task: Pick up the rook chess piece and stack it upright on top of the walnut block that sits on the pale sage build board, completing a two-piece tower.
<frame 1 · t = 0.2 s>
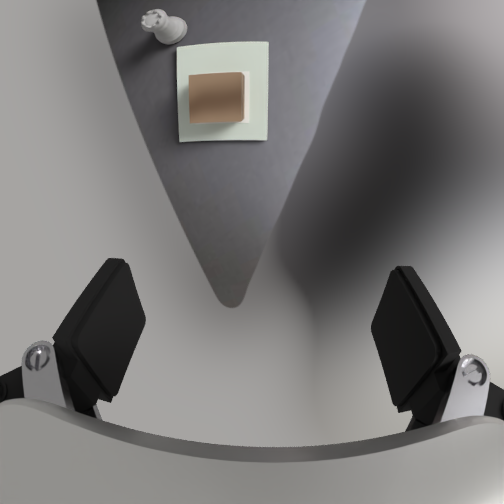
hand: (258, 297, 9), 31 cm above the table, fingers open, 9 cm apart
rook chess piece: (173, 31, 26), on the table
walnut block: (221, 97, 31), point 1 cm above the table, touching build board
build board: (222, 90, 31), on the table
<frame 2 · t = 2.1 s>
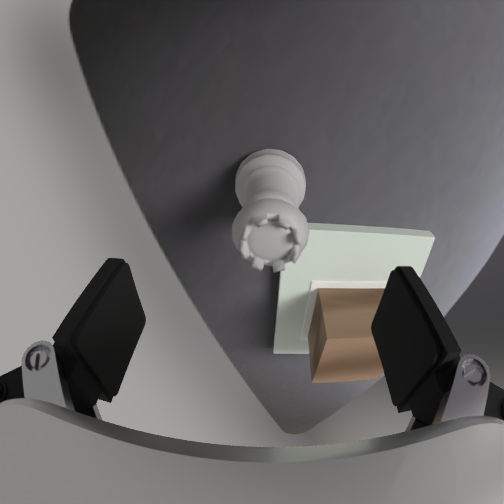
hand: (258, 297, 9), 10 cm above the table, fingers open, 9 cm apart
rook chess piece: (270, 179, 17), on the table
walnut block: (346, 314, 22), point 1 cm above the table, touching build board
build board: (346, 297, 22), on the table
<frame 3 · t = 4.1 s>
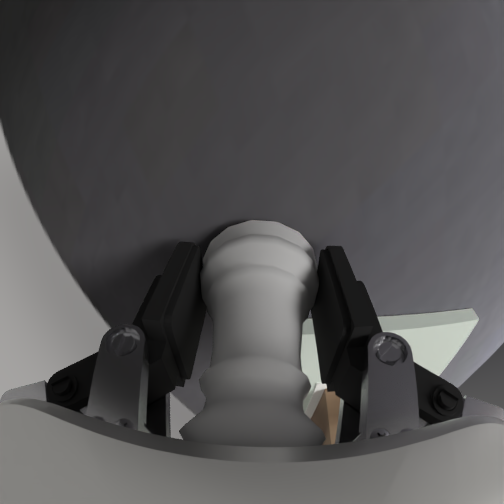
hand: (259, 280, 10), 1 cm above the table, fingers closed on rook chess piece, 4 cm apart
rook chess piece: (260, 262, 11), on the table, touching gripper
walnut block: (356, 405, 16), point 1 cm above the table, touching build board
build board: (358, 385, 16), on the table
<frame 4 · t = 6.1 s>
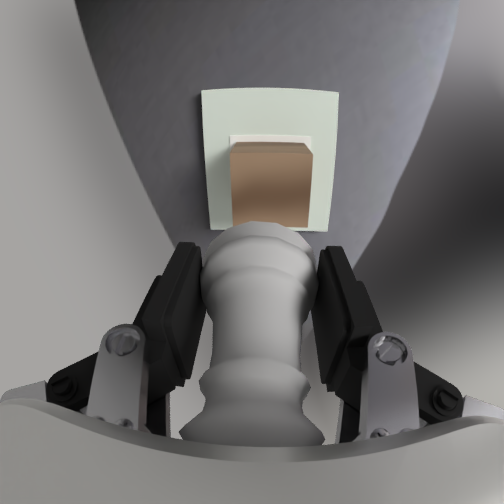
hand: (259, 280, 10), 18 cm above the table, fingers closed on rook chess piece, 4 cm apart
rook chess piece: (259, 263, 11), point 16 cm above the table, touching gripper
walnut block: (270, 173, 24), point 1 cm above the table, touching build board
build board: (270, 160, 25), on the table
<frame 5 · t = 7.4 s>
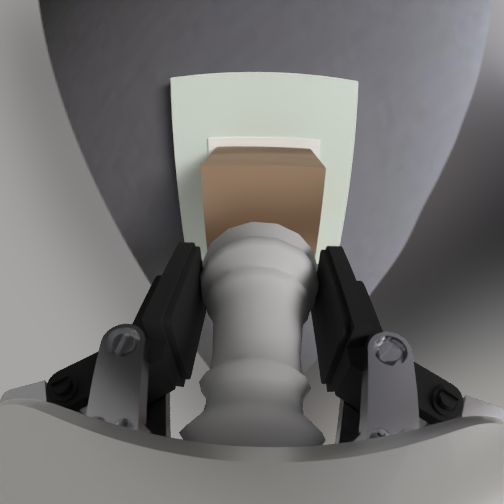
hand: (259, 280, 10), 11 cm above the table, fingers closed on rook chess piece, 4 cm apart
rook chess piece: (260, 264, 11), point 10 cm above the table, touching gripper
walnut block: (263, 189, 18), point 1 cm above the table, touching build board
build board: (263, 171, 19), on the table
when the fingers open (8 cm above the table, at t = 8.6 s): rook chess piece drops 1 cm, resting on walnut block.
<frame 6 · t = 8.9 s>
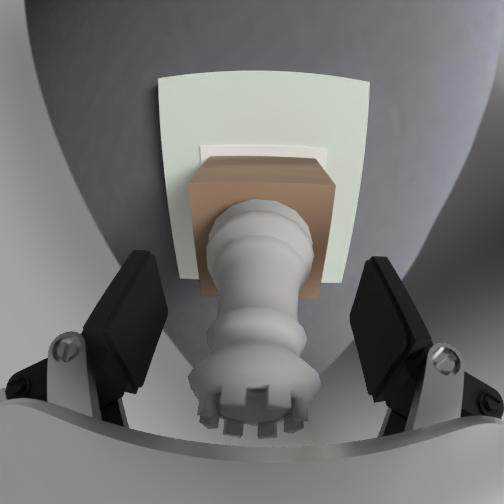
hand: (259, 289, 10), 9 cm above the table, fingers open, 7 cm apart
rook chess piece: (260, 239, 12), point 6 cm above the table, touching walnut block
walnut block: (262, 204, 16), point 1 cm above the table, touching build board, rook chess piece
build board: (262, 182, 17), on the table
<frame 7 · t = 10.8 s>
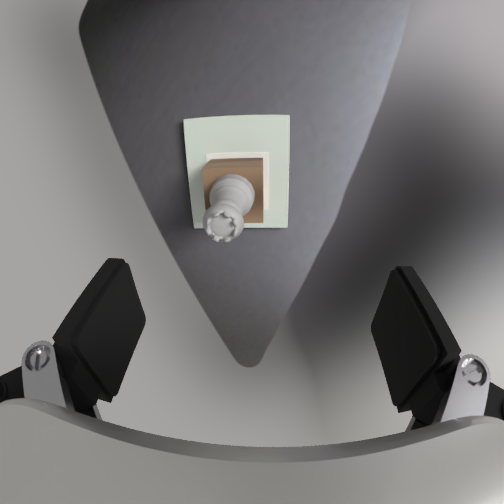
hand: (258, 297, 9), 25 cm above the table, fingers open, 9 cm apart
rook chess piece: (233, 193, 27), point 6 cm above the table, touching walnut block
walnut block: (237, 182, 31), point 1 cm above the table, touching build board, rook chess piece
build board: (238, 172, 32), on the table
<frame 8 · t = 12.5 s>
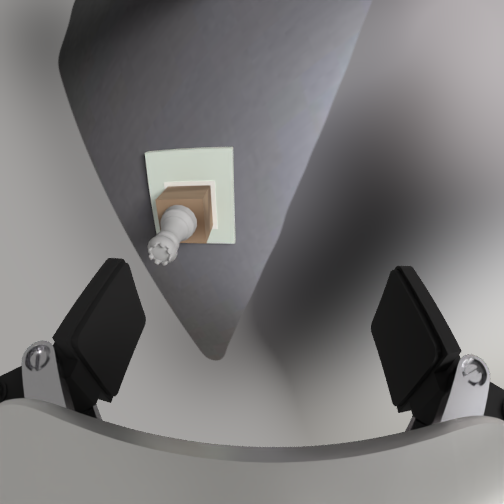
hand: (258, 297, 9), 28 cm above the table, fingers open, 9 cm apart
rook chess piece: (180, 219, 33), point 6 cm above the table, touching walnut block
walnut block: (190, 206, 37), point 1 cm above the table, touching build board, rook chess piece
build board: (192, 196, 37), on the table
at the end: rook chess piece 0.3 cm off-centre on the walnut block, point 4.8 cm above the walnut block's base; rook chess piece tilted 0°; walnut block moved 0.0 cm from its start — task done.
